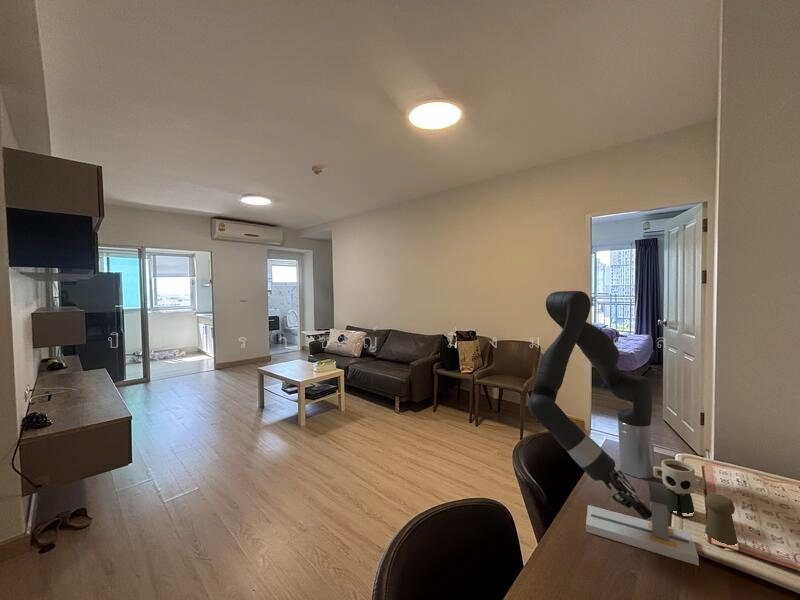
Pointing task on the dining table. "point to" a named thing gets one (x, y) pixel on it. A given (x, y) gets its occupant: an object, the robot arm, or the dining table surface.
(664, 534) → the fader knob
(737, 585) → the dining table surface
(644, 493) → the dining table surface
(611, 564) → the dining table surface
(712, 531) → the cork
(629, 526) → the fader console
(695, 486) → the character mug
